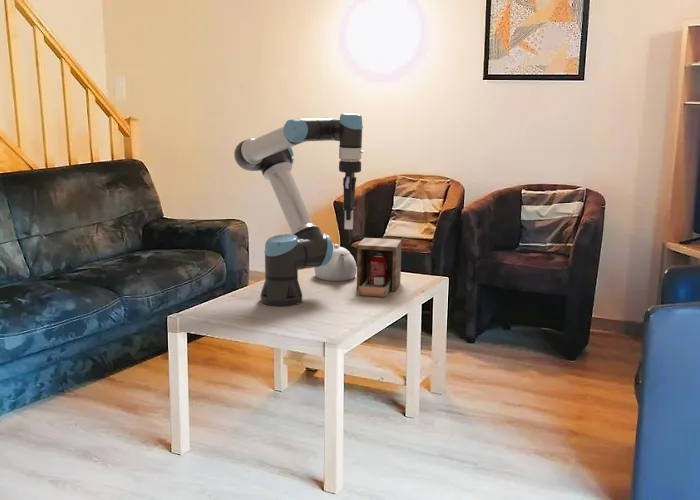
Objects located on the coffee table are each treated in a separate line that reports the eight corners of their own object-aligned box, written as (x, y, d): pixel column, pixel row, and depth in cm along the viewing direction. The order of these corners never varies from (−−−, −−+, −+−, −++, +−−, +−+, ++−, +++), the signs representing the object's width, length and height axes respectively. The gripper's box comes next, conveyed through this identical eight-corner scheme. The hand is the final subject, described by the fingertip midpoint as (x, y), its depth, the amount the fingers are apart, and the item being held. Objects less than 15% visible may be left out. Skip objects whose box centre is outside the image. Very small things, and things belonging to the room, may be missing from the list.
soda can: (385, 287, 299) (386, 257, 297) (367, 286, 300) (368, 256, 298) (388, 283, 305) (388, 253, 303) (370, 282, 307) (371, 252, 304)
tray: (358, 295, 291) (358, 286, 290) (368, 282, 310) (368, 274, 310) (385, 296, 289) (385, 288, 289) (393, 283, 308) (393, 276, 308)
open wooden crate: (356, 289, 300) (357, 244, 296) (363, 280, 314) (364, 237, 310) (395, 292, 297) (396, 247, 293) (400, 283, 311) (401, 239, 308)
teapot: (366, 275, 323) (367, 243, 320) (342, 284, 308) (342, 250, 305) (328, 269, 333) (329, 237, 330) (303, 277, 317) (303, 244, 315)
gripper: (358, 162, 258) (356, 232, 263) (363, 158, 271) (362, 226, 276) (335, 161, 259) (334, 231, 264) (342, 157, 272) (341, 224, 277)
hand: (348, 228), depth 270 cm, fingers closed
